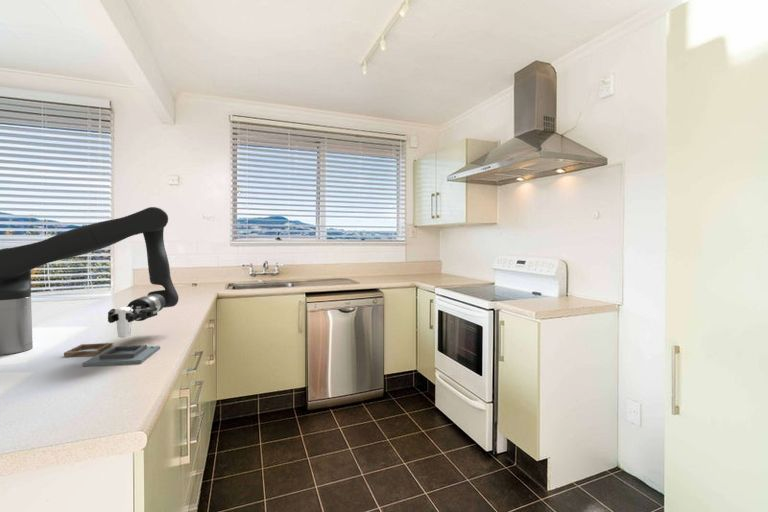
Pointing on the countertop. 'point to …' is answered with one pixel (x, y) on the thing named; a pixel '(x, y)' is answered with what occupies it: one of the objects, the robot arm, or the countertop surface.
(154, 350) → the port plate
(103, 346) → the square wooden frame
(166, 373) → the countertop surface
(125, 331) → the milkshake
